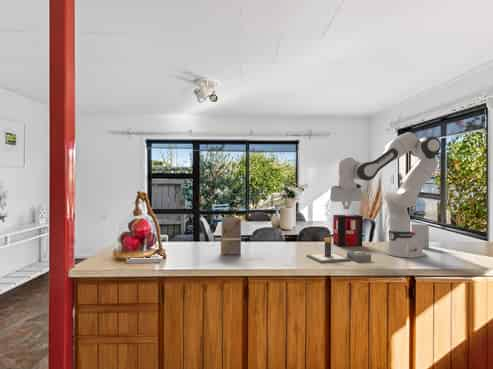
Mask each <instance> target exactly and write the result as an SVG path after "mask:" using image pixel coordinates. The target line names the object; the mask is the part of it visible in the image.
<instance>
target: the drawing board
mask: <svg viewBox="0 0 493 369" xmlns="http://www.w3.org/2000/svg"><path fill="white" fill-rule="evenodd" d="M306 257H307V258H309V259H311V260H313V261H315V262H318V263H320V264H326V263H327V264H328V263H339V262H341V263H342V262H351V260H350V259H349V258H347V256H344V255H341V254H338V253H335V252H331V257H325V253H316V254H315V253H314V254H306Z"/></svg>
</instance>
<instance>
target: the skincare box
mask: <svg viewBox="0 0 493 369" xmlns="http://www.w3.org/2000/svg"><path fill="white" fill-rule="evenodd" d="M411 232H416V235H412V236H413V238H414V239H415V240H416V241H417V242H419V243H420V244H421V246H422V250H423V249H424V250H425V249H429V248H430V232H429V223H423V222H420V223H419V222H415V223H411Z"/></svg>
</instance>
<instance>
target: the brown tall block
mask: <svg viewBox="0 0 493 369" xmlns="http://www.w3.org/2000/svg"><path fill="white" fill-rule="evenodd" d="M233 215H234V216H233V217H221V224H220V225H221V228H220V229H221V233H220V234H221V235H220V254H221V256H224V255H239V256H242V218H241V217H236V212H235V211H234V214H233Z"/></svg>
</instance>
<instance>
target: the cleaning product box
mask: <svg viewBox="0 0 493 369" xmlns="http://www.w3.org/2000/svg"><path fill="white" fill-rule="evenodd" d="M332 217H333V218H332V220H333V221H332V222H333V224H332V225H333V227H332V228H333V229H332V233H333V234H332V236H333V237H332V240H333V241H332V244H333V246H336V247H338V248H344V247H363V215H360V214H333V216H332Z"/></svg>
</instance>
